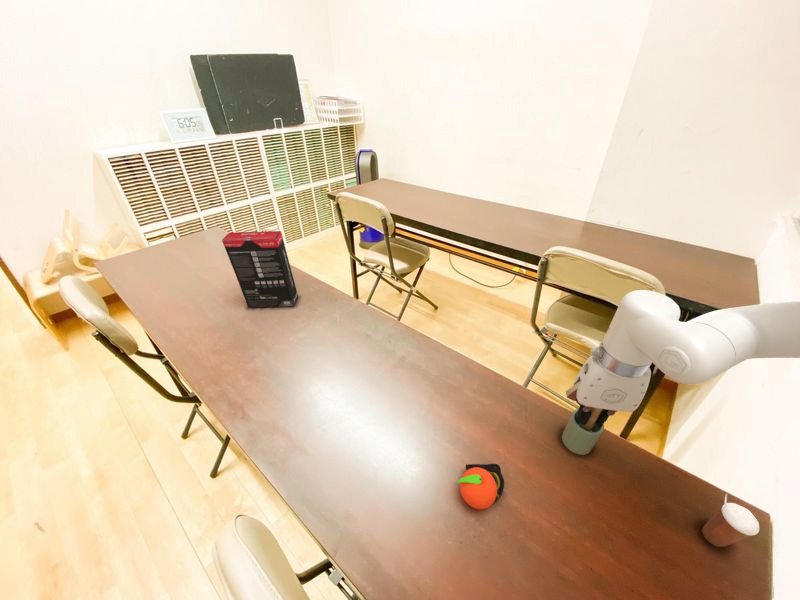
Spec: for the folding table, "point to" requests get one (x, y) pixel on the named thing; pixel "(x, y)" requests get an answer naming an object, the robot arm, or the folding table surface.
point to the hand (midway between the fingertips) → (589, 419)
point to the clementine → (478, 488)
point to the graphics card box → (262, 268)
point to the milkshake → (730, 525)
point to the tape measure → (496, 474)
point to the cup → (580, 435)
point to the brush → (591, 419)
